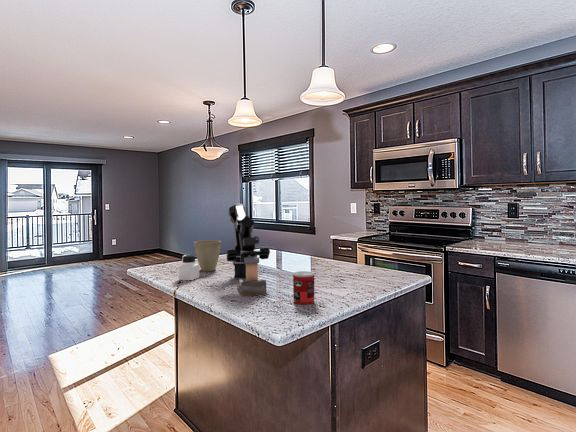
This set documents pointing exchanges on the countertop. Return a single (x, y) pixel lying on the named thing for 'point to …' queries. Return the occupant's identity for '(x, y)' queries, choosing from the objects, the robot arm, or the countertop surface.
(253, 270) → the orange jar
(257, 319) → the countertop surface
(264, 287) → the mount
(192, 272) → the medicine bottle
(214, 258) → the plant pot
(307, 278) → the canned food
